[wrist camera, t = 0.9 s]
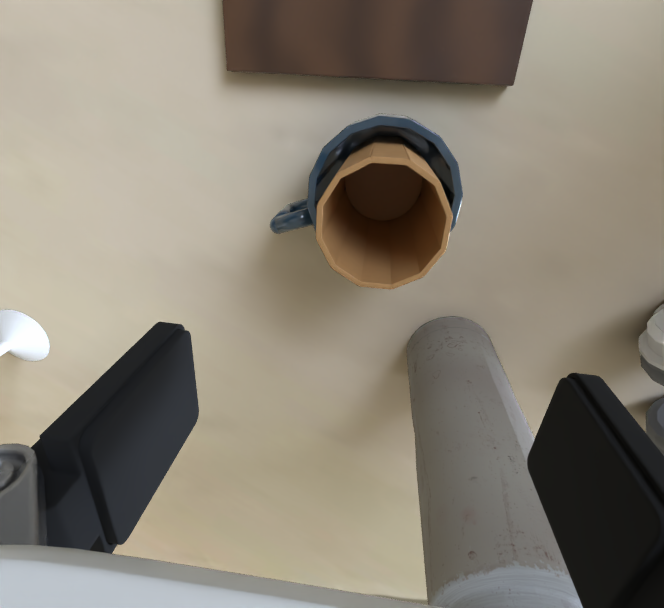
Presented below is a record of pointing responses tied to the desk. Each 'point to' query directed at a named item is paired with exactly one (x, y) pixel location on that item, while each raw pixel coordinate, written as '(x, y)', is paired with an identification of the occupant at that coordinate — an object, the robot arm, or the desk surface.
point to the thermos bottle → (478, 479)
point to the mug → (357, 134)
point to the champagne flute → (22, 336)
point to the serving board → (378, 39)
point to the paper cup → (383, 215)
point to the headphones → (654, 373)
